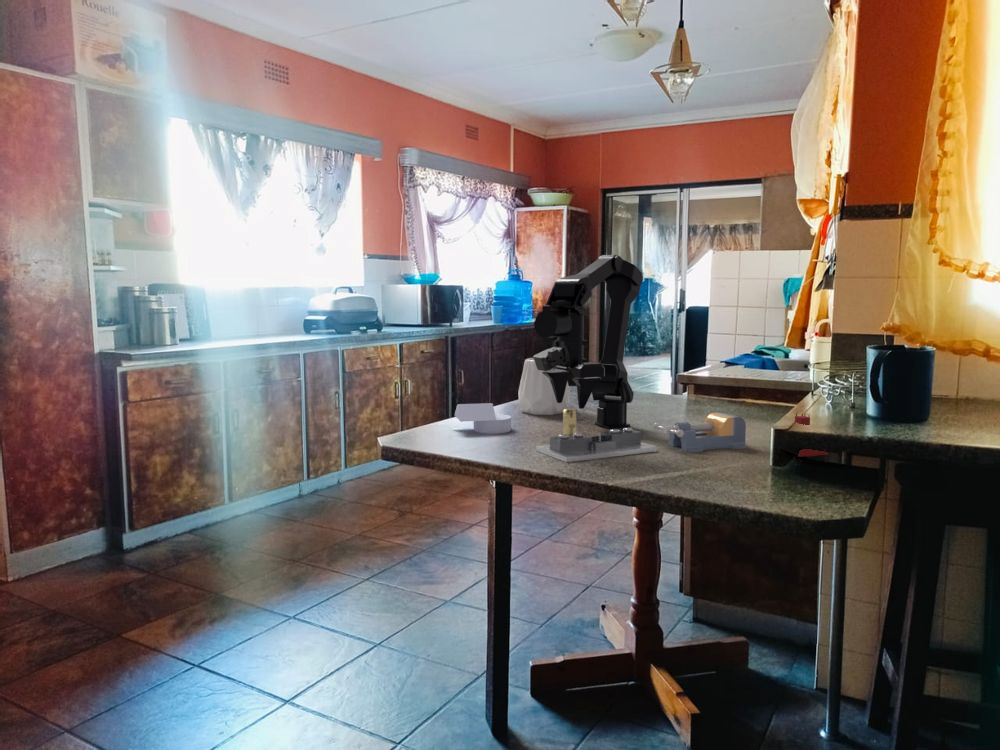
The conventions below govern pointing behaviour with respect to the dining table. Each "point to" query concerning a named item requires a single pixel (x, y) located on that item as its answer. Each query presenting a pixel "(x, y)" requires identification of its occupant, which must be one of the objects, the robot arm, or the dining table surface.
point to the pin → (569, 421)
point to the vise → (707, 433)
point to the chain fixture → (596, 445)
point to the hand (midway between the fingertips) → (570, 405)
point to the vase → (539, 392)
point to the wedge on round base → (483, 418)
